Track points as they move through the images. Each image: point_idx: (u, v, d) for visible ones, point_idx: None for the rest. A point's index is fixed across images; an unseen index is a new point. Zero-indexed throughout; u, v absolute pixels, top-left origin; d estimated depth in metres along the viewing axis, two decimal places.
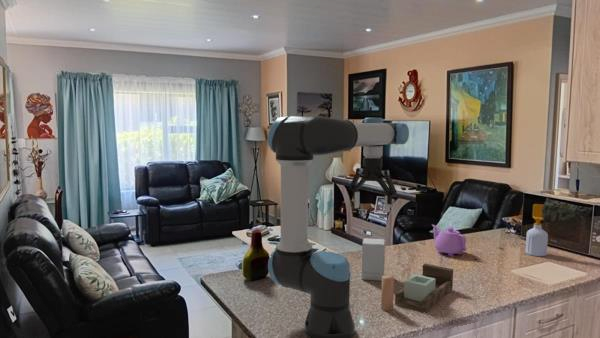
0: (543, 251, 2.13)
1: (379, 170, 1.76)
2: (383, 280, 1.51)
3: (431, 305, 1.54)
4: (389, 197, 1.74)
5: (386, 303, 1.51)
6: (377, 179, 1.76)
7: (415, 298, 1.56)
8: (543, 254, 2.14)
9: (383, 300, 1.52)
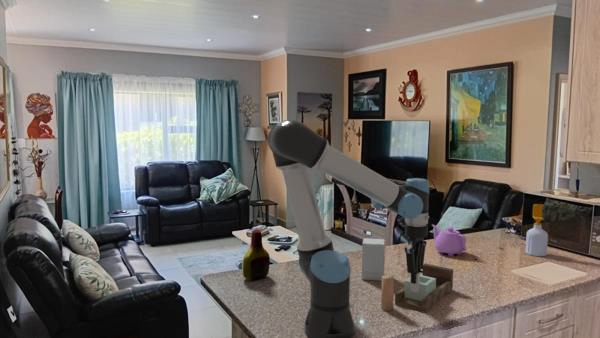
0: (543, 251, 2.13)
1: (408, 242, 1.51)
2: (383, 280, 1.51)
3: (431, 305, 1.54)
4: None
5: (386, 303, 1.51)
6: None
7: (415, 298, 1.56)
8: (543, 254, 2.14)
9: (383, 300, 1.52)
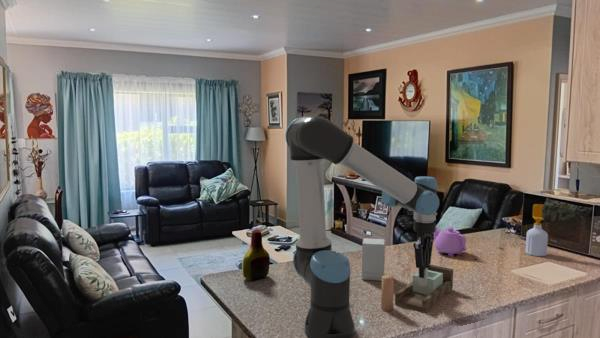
0: (543, 251, 2.13)
1: (417, 237, 1.57)
2: (383, 280, 1.51)
3: (431, 305, 1.54)
4: None
5: (386, 303, 1.51)
6: None
7: (423, 292, 1.62)
8: (543, 254, 2.14)
9: (383, 300, 1.52)
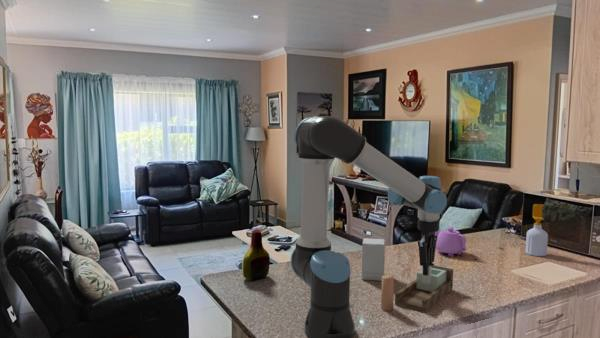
0: (543, 251, 2.13)
1: (421, 236, 1.60)
2: (383, 280, 1.51)
3: (431, 305, 1.54)
4: None
5: (386, 303, 1.51)
6: None
7: (427, 289, 1.65)
8: (543, 254, 2.14)
9: (383, 300, 1.52)
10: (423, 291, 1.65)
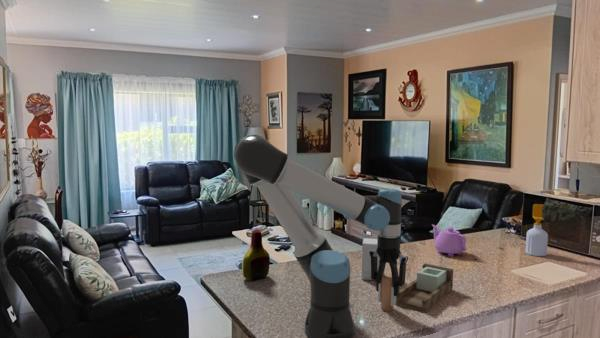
0: (543, 251, 2.13)
1: (397, 253, 1.48)
2: (383, 280, 1.51)
3: (431, 305, 1.54)
4: (396, 288, 1.50)
5: (386, 302, 1.51)
6: (391, 264, 1.49)
7: (427, 289, 1.64)
8: (543, 254, 2.14)
9: (383, 300, 1.52)
10: (423, 291, 1.65)
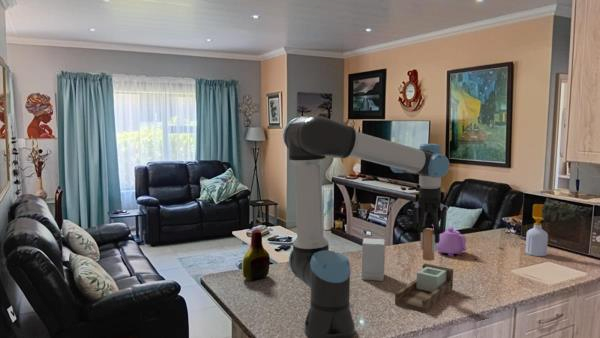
0: (543, 251, 2.13)
1: (438, 203, 1.60)
2: (425, 232, 1.63)
3: (431, 305, 1.54)
4: (437, 236, 1.62)
5: (428, 253, 1.63)
6: (432, 213, 1.61)
7: (427, 289, 1.64)
8: (543, 254, 2.14)
9: (425, 251, 1.64)
10: (423, 291, 1.65)
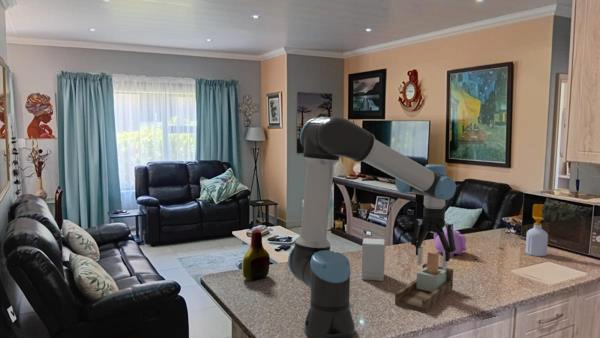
0: (543, 251, 2.13)
1: (442, 222, 1.63)
2: (429, 256, 1.66)
3: (431, 305, 1.54)
4: (447, 254, 1.63)
5: None
6: (438, 232, 1.63)
7: (427, 289, 1.64)
8: (543, 254, 2.14)
9: None
10: (423, 291, 1.65)
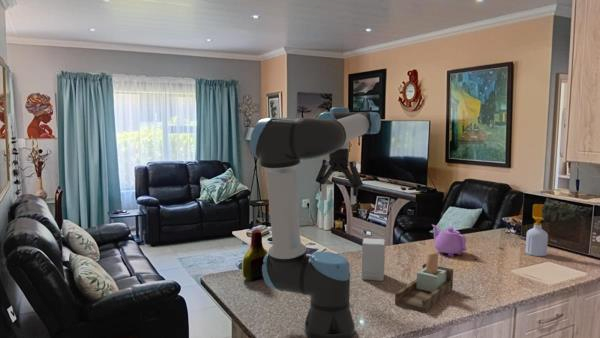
0: (543, 251, 2.13)
1: (345, 161, 1.72)
2: (428, 256, 1.66)
3: (431, 305, 1.54)
4: (355, 189, 1.71)
5: None
6: (343, 170, 1.72)
7: (427, 289, 1.64)
8: (543, 254, 2.14)
9: None
10: (423, 291, 1.65)
